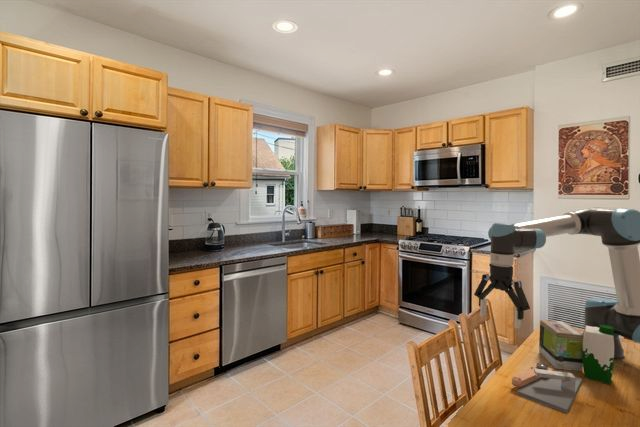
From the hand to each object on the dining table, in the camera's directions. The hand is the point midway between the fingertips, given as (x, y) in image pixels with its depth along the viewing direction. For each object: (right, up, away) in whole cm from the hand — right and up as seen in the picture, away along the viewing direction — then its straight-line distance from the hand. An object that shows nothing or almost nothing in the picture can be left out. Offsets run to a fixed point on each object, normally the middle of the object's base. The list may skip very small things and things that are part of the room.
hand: (499, 321), depth 124 cm
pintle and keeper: (+15, -21, -5) cm, 26 cm away
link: (+10, -20, -2) cm, 23 cm away
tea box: (+32, -21, +13) cm, 41 cm away
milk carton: (+37, -22, +1) cm, 43 cm away
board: (+15, -22, -6) cm, 27 cm away
